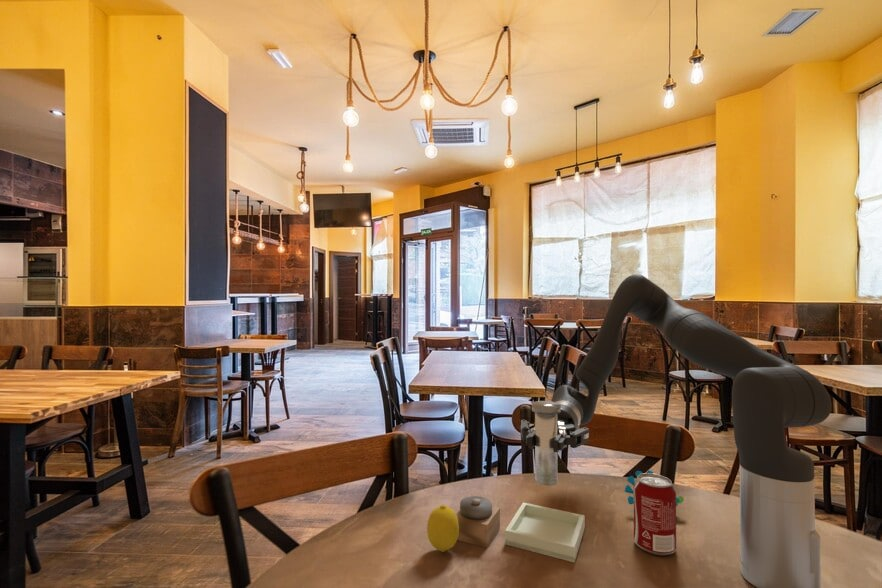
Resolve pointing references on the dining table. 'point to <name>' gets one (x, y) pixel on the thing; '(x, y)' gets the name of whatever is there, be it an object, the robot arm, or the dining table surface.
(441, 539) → the lemon
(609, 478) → the dining table surface
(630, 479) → the gear
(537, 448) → the pin
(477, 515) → the pulley stand
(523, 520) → the tray
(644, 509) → the soda can
